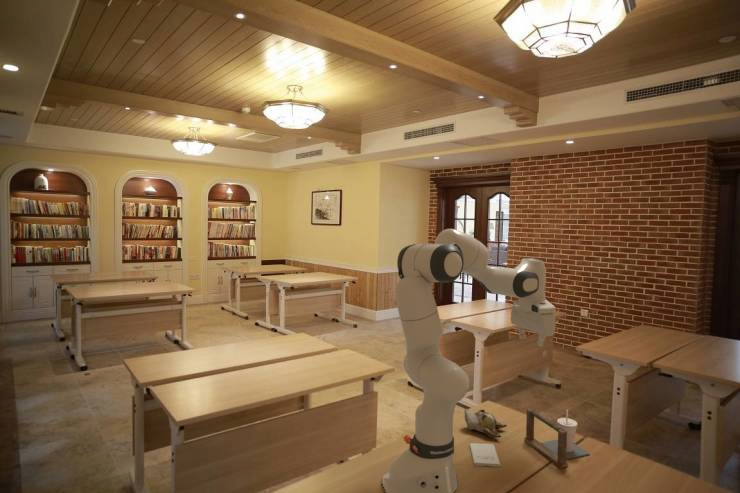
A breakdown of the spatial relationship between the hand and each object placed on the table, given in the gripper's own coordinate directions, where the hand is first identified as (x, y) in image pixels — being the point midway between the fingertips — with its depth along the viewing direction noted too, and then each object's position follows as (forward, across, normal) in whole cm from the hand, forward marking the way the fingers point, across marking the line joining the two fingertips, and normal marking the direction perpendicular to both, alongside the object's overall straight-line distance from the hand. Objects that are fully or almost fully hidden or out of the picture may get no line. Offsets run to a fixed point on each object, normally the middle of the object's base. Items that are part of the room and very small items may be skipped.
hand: (531, 342), depth 158 cm
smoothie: (+35, +11, +7) cm, 37 cm away
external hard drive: (+36, +5, -22) cm, 42 cm away
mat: (+35, +10, +7) cm, 37 cm away
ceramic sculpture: (+36, -9, -13) cm, 39 cm away
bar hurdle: (+35, +10, -1) cm, 37 cm away
